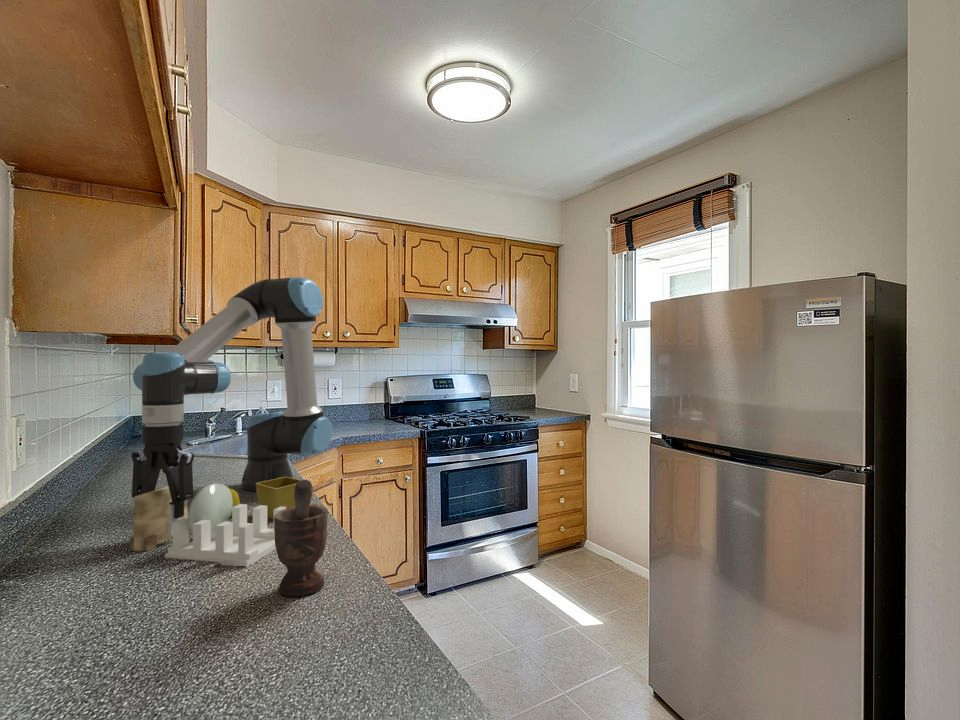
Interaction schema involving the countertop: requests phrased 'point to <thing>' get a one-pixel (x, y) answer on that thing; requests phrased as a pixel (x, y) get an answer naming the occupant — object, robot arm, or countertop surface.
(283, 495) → the flower pot
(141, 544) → the bamboo board
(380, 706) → the countertop surface
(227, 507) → the sage plate
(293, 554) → the mortar and pestle
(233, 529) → the dish rack
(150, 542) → the board stand
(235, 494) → the lemon
